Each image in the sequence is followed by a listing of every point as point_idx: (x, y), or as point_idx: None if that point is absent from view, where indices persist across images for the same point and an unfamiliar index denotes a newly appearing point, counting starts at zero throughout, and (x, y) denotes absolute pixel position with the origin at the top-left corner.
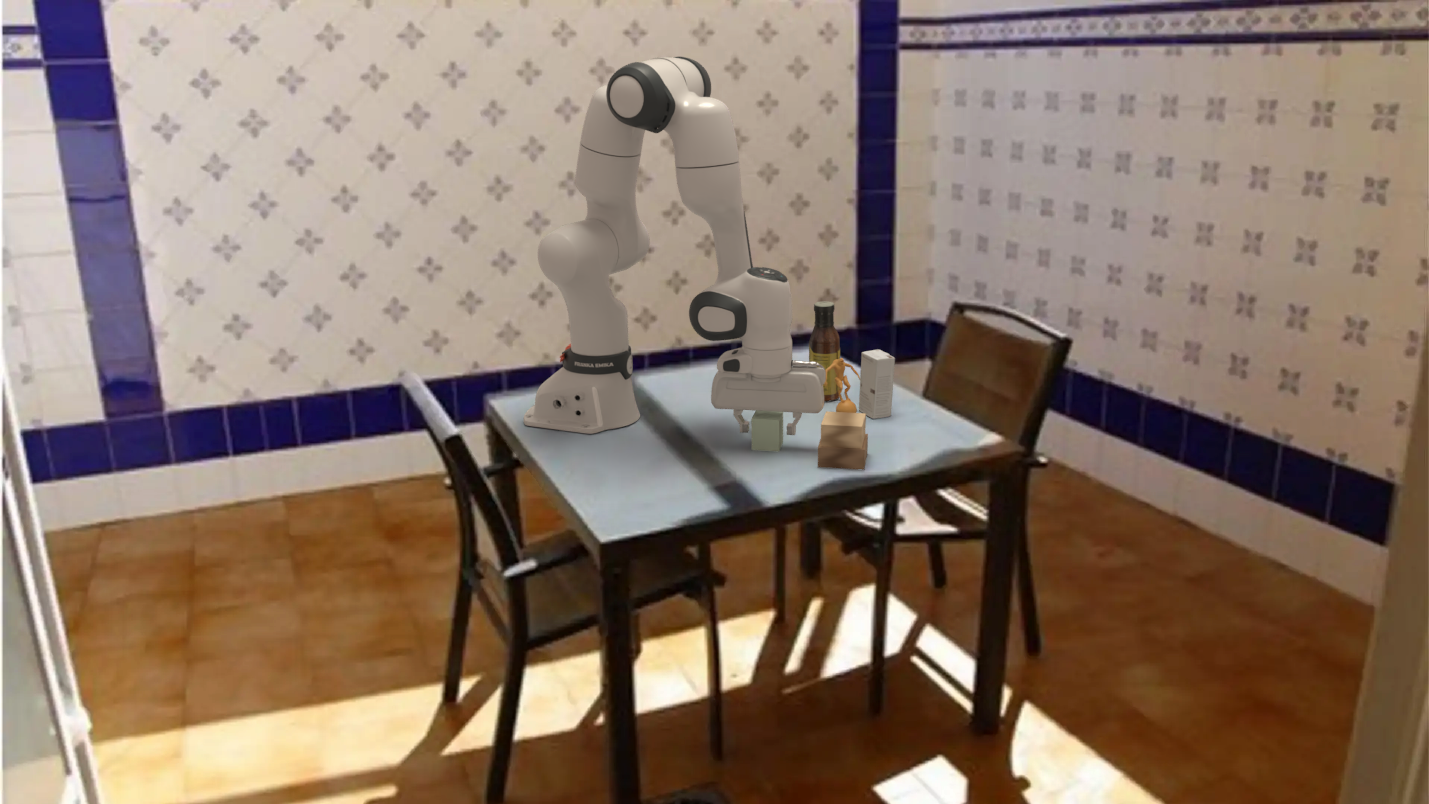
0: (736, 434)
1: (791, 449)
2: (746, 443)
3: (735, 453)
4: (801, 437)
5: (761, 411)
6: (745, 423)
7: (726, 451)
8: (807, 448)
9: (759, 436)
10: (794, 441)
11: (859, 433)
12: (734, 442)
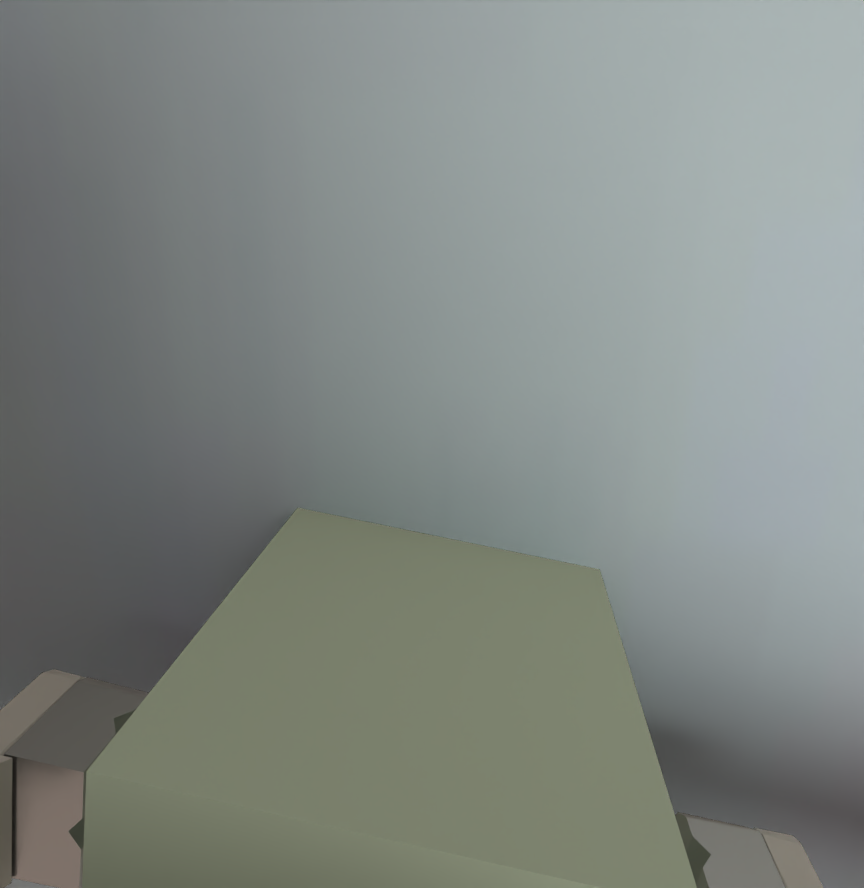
0: (57, 302)
1: (666, 778)
2: (200, 588)
3: None
4: (849, 435)
5: (212, 878)
6: (43, 855)
7: None
8: (845, 768)
9: None
10: (735, 562)
11: None
12: (75, 552)
